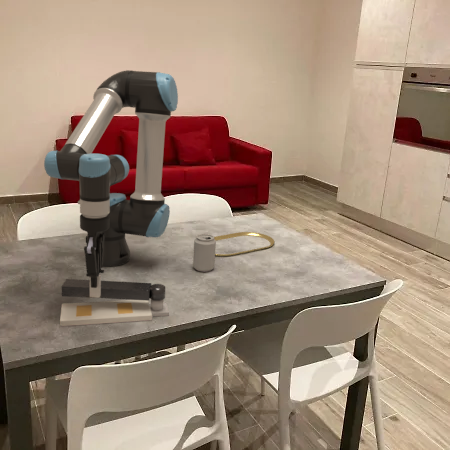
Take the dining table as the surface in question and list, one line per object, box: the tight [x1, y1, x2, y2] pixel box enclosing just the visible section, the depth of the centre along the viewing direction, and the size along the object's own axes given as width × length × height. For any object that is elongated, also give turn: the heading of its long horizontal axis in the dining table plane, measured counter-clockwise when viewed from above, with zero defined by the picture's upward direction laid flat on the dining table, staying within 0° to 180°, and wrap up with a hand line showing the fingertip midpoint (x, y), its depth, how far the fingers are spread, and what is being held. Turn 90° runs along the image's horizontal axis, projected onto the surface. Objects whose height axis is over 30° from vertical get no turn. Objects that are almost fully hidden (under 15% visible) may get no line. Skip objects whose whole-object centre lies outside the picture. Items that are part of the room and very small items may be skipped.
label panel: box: [59, 298, 170, 327], centre depth 137 cm, size 10×29×4 cm, turn 105°
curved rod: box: [214, 231, 275, 257], centre depth 197 cm, size 19×35×2 cm, turn 126°
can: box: [192, 233, 217, 273], centre depth 171 cm, size 8×8×12 cm
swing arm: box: [60, 278, 166, 301], centre depth 138 cm, size 28×5×3 cm, turn 91°
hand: (95, 296), depth 135 cm, fingers closed
